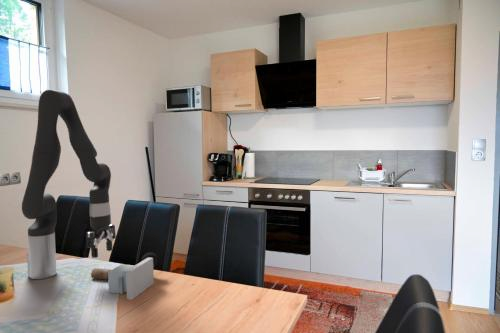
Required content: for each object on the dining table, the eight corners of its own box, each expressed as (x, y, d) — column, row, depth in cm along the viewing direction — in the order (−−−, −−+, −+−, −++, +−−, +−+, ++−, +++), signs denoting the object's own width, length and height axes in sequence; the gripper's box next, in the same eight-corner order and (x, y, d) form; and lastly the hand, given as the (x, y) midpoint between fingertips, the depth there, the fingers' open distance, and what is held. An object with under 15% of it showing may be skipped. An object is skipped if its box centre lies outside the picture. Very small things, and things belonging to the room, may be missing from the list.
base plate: (126, 299, 115) (126, 270, 114) (148, 282, 128) (148, 257, 128) (132, 299, 114) (131, 271, 114) (153, 283, 128) (152, 257, 127)
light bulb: (155, 280, 131) (154, 255, 130) (140, 280, 131) (139, 255, 130) (159, 274, 137) (158, 250, 136) (145, 274, 137) (144, 250, 136)
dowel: (94, 280, 134) (89, 275, 131) (99, 271, 137) (94, 266, 134) (118, 282, 131) (113, 278, 128) (123, 273, 134) (118, 268, 131)
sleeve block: (108, 292, 120) (108, 271, 120) (122, 283, 128) (121, 264, 127) (122, 293, 119) (121, 273, 118) (135, 284, 126) (134, 265, 126)
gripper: (104, 210, 141) (106, 248, 142) (79, 217, 127) (81, 259, 128) (119, 210, 139) (121, 249, 140) (95, 217, 125) (98, 260, 126)
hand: (102, 253), depth 134 cm, fingers open, 8 cm apart
